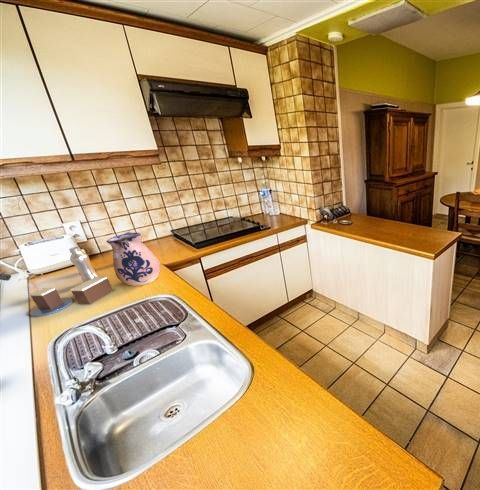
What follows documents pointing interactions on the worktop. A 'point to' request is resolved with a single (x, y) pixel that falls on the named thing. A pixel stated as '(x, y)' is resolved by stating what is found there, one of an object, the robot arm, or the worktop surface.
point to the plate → (42, 312)
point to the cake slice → (46, 298)
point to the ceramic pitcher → (133, 260)
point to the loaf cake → (91, 290)
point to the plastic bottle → (82, 264)
